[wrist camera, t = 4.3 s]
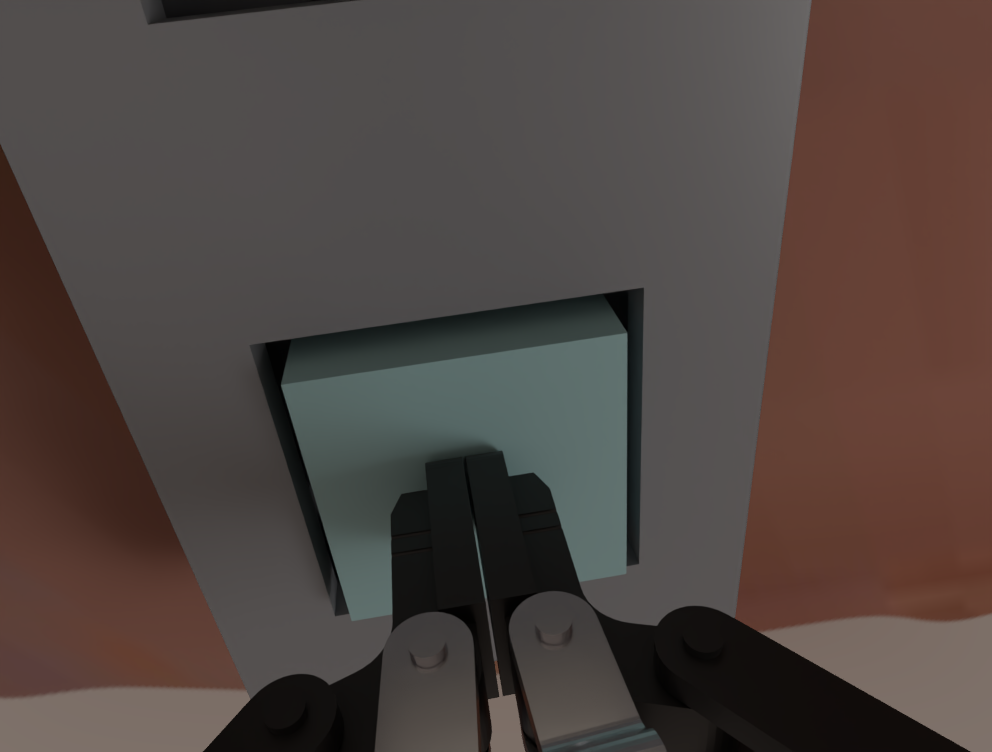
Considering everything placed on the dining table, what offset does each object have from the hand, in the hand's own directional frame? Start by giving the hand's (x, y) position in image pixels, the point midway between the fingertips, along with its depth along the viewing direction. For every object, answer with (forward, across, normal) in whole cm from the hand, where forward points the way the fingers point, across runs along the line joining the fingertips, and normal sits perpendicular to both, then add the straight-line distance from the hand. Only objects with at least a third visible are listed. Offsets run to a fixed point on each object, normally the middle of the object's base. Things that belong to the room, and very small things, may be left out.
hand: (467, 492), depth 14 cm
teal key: (+3, 0, 0) cm, 3 cm away
